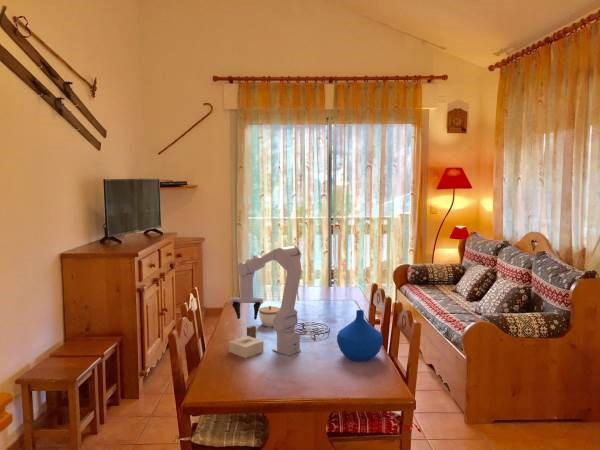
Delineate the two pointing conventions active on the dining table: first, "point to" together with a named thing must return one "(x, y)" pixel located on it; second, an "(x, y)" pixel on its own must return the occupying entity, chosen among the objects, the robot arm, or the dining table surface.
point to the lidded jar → (268, 315)
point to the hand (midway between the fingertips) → (247, 318)
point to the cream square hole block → (246, 346)
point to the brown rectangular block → (251, 331)
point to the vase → (359, 339)
